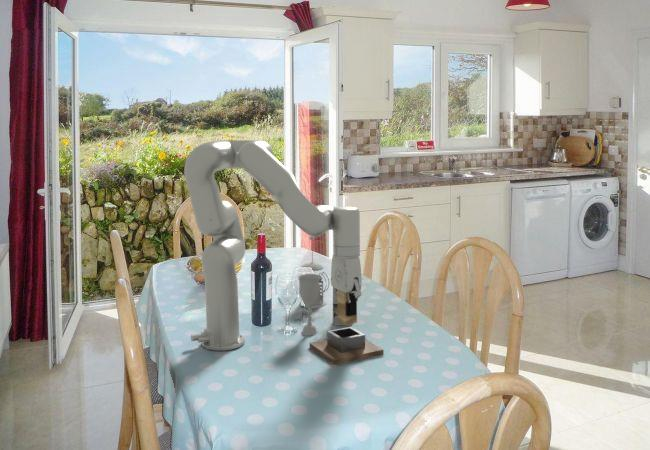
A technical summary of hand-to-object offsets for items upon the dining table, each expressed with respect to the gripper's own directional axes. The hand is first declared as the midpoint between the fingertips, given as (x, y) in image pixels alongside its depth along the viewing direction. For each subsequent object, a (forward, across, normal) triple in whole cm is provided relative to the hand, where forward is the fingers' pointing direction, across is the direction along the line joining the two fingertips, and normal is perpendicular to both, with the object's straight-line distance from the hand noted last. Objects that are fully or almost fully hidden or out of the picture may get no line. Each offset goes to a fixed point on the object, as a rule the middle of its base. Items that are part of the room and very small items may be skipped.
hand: (347, 312), depth 182 cm
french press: (+12, -44, +13) cm, 48 cm away
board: (+12, 0, 0) cm, 12 cm away
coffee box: (+12, -23, +13) cm, 29 cm away
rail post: (+3, 0, 0) cm, 3 cm away
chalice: (+12, -19, -2) cm, 23 cm away
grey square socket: (+10, 0, 0) cm, 10 cm away
